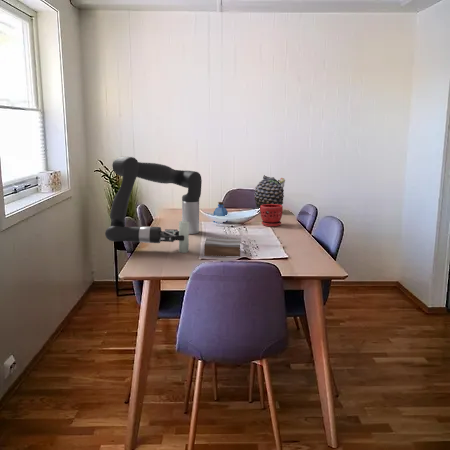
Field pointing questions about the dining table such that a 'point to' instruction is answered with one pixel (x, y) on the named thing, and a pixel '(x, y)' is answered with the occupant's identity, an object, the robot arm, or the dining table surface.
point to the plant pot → (271, 214)
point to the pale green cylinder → (185, 232)
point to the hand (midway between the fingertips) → (185, 235)
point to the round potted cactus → (269, 192)
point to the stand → (222, 247)
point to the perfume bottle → (220, 210)
